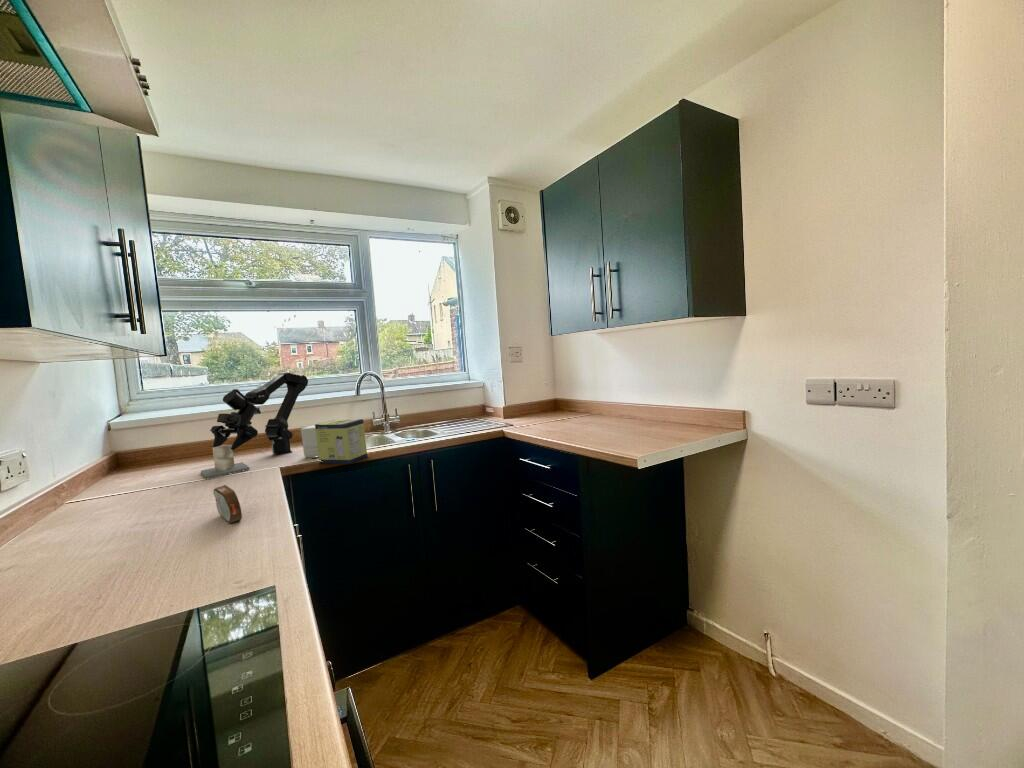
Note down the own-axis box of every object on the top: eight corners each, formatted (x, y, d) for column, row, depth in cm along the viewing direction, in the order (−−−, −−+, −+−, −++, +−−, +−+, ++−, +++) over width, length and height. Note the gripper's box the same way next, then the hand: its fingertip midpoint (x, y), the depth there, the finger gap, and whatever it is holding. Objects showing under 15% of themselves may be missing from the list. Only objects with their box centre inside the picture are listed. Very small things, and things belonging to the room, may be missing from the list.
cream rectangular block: (226, 467, 170) (223, 444, 169) (234, 467, 168) (231, 444, 167) (215, 470, 165) (212, 447, 164) (224, 470, 164) (221, 447, 163)
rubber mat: (242, 464, 177) (242, 462, 176) (249, 469, 166) (249, 467, 166) (201, 473, 167) (200, 470, 167) (205, 479, 157) (205, 476, 157)
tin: (244, 523, 109) (239, 491, 108) (229, 527, 107) (225, 494, 106) (228, 511, 119) (224, 481, 119) (215, 515, 117) (210, 485, 116)
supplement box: (329, 452, 186) (326, 424, 185) (320, 457, 179) (316, 427, 178) (313, 453, 187) (310, 425, 186) (303, 458, 179) (300, 428, 178)
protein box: (337, 456, 178) (333, 419, 177) (368, 456, 173) (364, 418, 171) (318, 463, 168) (313, 424, 167) (350, 464, 163) (345, 423, 162)
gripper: (211, 406, 172) (188, 439, 163) (247, 404, 167) (225, 438, 158) (231, 421, 181) (210, 454, 171) (266, 420, 175) (247, 453, 166)
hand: (222, 449), depth 166 cm, fingers open, 9 cm apart
